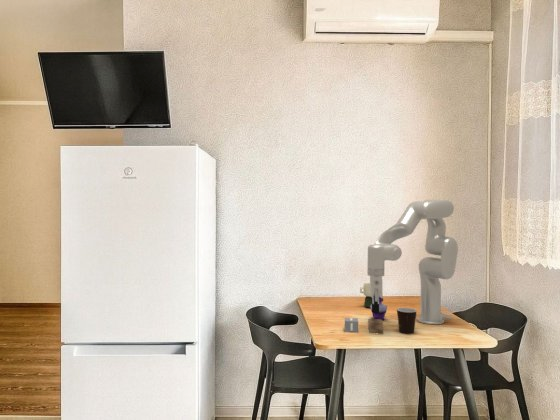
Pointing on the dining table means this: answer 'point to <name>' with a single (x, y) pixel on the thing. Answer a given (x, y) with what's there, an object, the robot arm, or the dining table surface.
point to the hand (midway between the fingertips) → (375, 312)
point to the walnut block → (375, 326)
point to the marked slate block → (351, 324)
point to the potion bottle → (380, 310)
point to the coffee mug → (406, 320)
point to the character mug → (367, 294)
